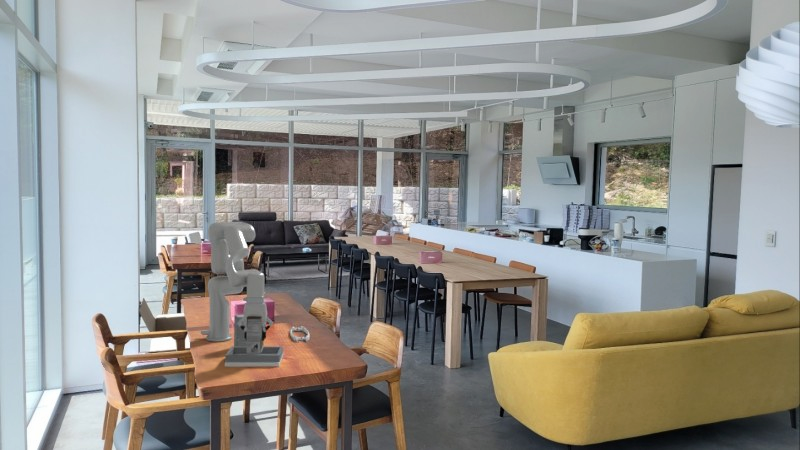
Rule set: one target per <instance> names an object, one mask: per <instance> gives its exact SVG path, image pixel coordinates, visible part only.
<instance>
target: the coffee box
mask: <svg viewBox="0 0 800 450" xmlns="http://www.w3.org/2000/svg"><path fill="white" fill-rule="evenodd" d="M262 332H263V329H262V317H254V316H251V317H247V346H246V347H247V348H246V353H261V352H262V350H263V348H264V346H265V340H264V341H262Z"/></svg>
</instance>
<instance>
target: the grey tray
mask: <svg viewBox="0 0 800 450" xmlns="http://www.w3.org/2000/svg"><path fill="white" fill-rule="evenodd" d="M246 348H247V347H246V346H234V345H233V346H231V347H230V348H229V350H228V351H227V352H226V354H225V356H224V358H225V360H224V361H225V362H224V367H226V368H227V367H231V368H232V367H237V368H238V367H242V368H243V367H244V368H245V367H280V365H281V362H282V359H283V357H284V346H281V345H279V346H278V345H277V346H276V345H275V346H272V345H271V346H268V345H267V346H266V345H264V348H263V350H262V352H261V353H246Z"/></svg>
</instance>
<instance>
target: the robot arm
mask: <svg viewBox="0 0 800 450" xmlns="http://www.w3.org/2000/svg"><path fill="white" fill-rule="evenodd" d="M207 235H208V239H209V243H210V249H211V250H210V254H211V255H210V263H211V264H210V268H211V271H212V273H213V274H215V275H219V276H213V277H211V278H210V279H209V280H208V282H207V292H208V296H209V297H208V298H209V329H207V330H205V329H201V331H200V334H201V335H202V336H205V338H206V340H207V342H208V341H209V342H218V343H219V342H227V341H230V340H232V339H233V334H231V333H230V302H229V300H228V299H227V298H226V297H225V296H228V295H236V294H241V293H242V292H243V290H244V288H245V287H246V296H245V297H243V298H242V299H243V301H244V302H245V303H244V307H243V312H242V314H243V318H242V319H241V320H240V321H238V322H237V324H238V325H239V326H240V328H241V329H242V330H243V331H244V338H246V341H247V317H251V316H254V317H262V329H263V332H262V341H264V342H265V339H266V338H267V331H268V330H269V329H270V328H271V327H272V326H273V325H274V320H273V321H272V319H270V318H269V317H268V310H267V309H268V308H267V303H266V302H265V274H264V273H263V272H260V271H259V269H256V268H255V269H254V268H253V269H245V263H244V262H245V261H244V258H247V256H248V255H249V253H250V249H249V245H248V244H247V242H248V243H250V242H251V243H252V242H253V241H255V238H256V231H255V228H254V226H253V225H252V224H250V223H247V222H244V221H218V222H217V221H216V222H213V223H211V224H210V225H209V226H208V229H207ZM225 274H226V275H225ZM242 322H243V325H242ZM267 324H268V325H267Z"/></svg>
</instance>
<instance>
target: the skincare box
mask: <svg viewBox="0 0 800 450" xmlns="http://www.w3.org/2000/svg"><path fill="white" fill-rule="evenodd" d="M242 318H243V313H242V314H234V324H233V325H234V327H233V330H234V331H233V335H234V336H233V346H247V341H246V338H244V331H243V330H242V329H241V328H240V326H239V325H238V324H237V322H238V321H240V320H241V319H242ZM242 325H243V322H242Z"/></svg>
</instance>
